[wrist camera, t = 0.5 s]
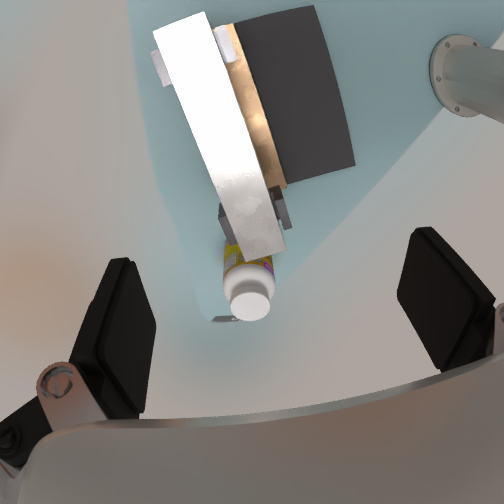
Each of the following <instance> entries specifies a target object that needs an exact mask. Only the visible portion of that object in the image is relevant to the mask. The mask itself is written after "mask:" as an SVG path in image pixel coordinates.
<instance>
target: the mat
mask: <svg viewBox="0 0 504 504" xmlns="http://www.w3.org/2000/svg"><path fill="white" fill-rule="evenodd" d="M235 27H236V30H237V32H238V35H239V38H240V41H241V43H242V46H243V49H244V52H245V55H246V57H247V60H248V63H249V66H250V69H251V72H252V74H253V77H254V80H255V83H256V86H257V89H258V92H259V95H260V98H261V101H262V104H263V107H264V110H265V113H266V116H267V119H268V122H269V126H270V129H271V132H272V135H273V138H274V141H275V145H276V148H277V151H278V154H279V158H280V161H281V164H282V167H283V171H284V174H285V177H286V181H287V184H290V183H294V182H297V181H301V180H304V179H308V178H311V177H315V176H319V175H322V174H326V173H330V172H333V171H337V170H341V169H344V168H348V167H352V166H356V165H355V160H354V155H353V150H352V145H351V140H350V135H349V130H348V126H347V121H346V117H345V112H344V108H343V104H342V100H341V96H340V92H339V88H338V84H337V80H336V77H335V73H334V69H333V66H332V62H331V59H330V55H329V52H328V48H327V45H326V42H325V39H324V35H323V32H322V29H321V26H320V23H319V20H318V17H317V14H316V11H315V8H314V5H311V6H306V7H300V8H295V9H290V10H285V11H281V12H276V13H272V14H268V15H264V16H260V17H256V18H252V19H249V20H245V21H242V22H238V23H235Z"/></svg>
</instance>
